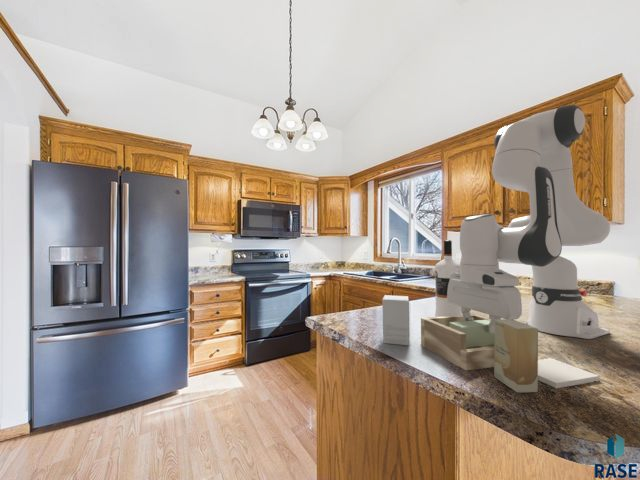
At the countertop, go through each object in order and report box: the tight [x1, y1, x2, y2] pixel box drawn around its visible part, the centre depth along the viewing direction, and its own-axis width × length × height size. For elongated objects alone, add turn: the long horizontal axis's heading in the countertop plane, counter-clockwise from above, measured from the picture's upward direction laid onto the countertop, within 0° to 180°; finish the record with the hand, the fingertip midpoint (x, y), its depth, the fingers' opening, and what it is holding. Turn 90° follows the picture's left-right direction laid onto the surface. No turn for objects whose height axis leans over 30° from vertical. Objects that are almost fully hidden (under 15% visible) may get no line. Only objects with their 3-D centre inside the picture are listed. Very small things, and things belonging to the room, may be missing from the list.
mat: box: [538, 357, 601, 389], centre depth 57 cm, size 12×9×1 cm
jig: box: [420, 313, 495, 371], centre depth 69 cm, size 18×16×8 cm
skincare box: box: [493, 318, 539, 394], centre depth 53 cm, size 6×4×12 cm
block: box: [449, 320, 495, 347], centre depth 69 cm, size 12×4×5 cm, turn 105°
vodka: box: [434, 239, 463, 317], centre depth 92 cm, size 9×9×30 cm
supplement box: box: [381, 294, 411, 346], centre depth 78 cm, size 7×7×13 cm
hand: (479, 328), depth 70 cm, fingers open, 5 cm apart
